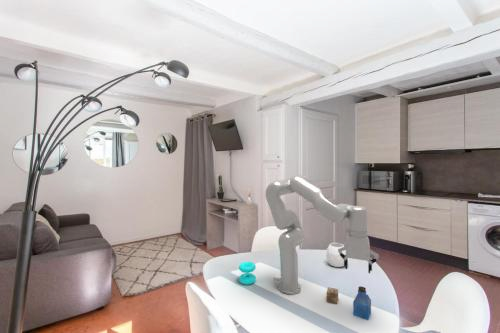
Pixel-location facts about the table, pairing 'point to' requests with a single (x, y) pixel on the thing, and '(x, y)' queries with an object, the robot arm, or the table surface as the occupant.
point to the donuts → (247, 273)
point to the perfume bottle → (362, 304)
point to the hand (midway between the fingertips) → (357, 269)
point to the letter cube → (332, 295)
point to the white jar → (335, 255)
